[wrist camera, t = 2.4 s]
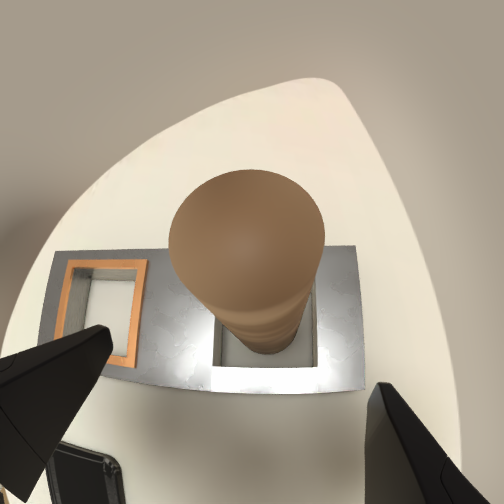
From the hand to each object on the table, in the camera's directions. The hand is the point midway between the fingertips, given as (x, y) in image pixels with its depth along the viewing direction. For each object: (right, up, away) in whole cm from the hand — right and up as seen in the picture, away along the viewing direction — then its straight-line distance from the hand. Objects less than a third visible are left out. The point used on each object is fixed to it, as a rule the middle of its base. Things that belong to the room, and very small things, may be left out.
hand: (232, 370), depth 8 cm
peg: (+2, -1, +11) cm, 11 cm away
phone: (-13, -19, +5) cm, 23 cm away
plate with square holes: (-4, -1, +11) cm, 12 cm away
